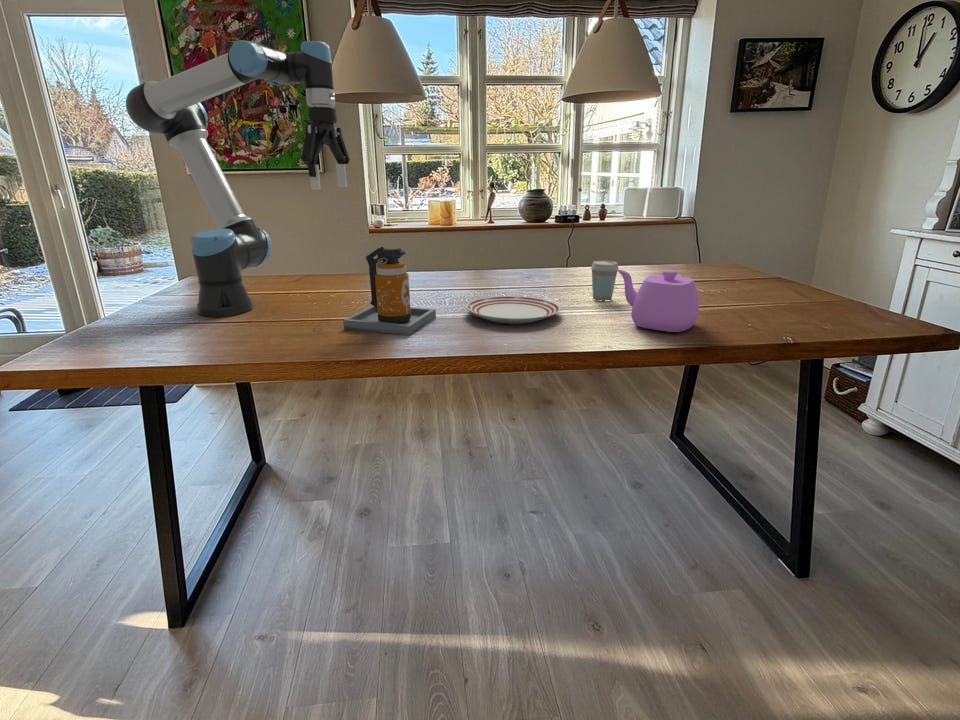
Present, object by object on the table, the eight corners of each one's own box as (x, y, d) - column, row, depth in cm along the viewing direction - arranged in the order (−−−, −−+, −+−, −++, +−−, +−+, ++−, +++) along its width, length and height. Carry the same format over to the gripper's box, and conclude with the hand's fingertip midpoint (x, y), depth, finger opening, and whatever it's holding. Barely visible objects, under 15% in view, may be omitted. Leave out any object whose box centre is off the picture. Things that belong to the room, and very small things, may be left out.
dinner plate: (490, 300, 169) (490, 290, 168) (571, 310, 158) (572, 299, 157) (448, 322, 146) (448, 310, 145) (540, 335, 135) (541, 323, 134)
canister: (404, 326, 139) (400, 250, 132) (365, 323, 141) (359, 249, 134) (415, 316, 147) (411, 245, 140) (378, 314, 150) (372, 244, 142)
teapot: (706, 320, 147) (714, 266, 141) (685, 339, 130) (694, 280, 125) (627, 308, 159) (632, 258, 153) (600, 324, 143) (604, 270, 137)
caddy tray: (343, 328, 140) (343, 319, 139) (375, 312, 155) (375, 304, 154) (409, 335, 134) (409, 326, 133) (435, 317, 150) (435, 309, 149)
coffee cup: (614, 303, 163) (617, 265, 159) (586, 301, 166) (589, 264, 162) (616, 297, 171) (620, 261, 167) (590, 295, 173) (593, 259, 169)
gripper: (305, 102, 131) (315, 190, 139) (357, 110, 153) (363, 186, 161) (280, 103, 133) (291, 190, 141) (335, 111, 156) (342, 186, 163)
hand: (329, 188), depth 151 cm, fingers open, 13 cm apart
